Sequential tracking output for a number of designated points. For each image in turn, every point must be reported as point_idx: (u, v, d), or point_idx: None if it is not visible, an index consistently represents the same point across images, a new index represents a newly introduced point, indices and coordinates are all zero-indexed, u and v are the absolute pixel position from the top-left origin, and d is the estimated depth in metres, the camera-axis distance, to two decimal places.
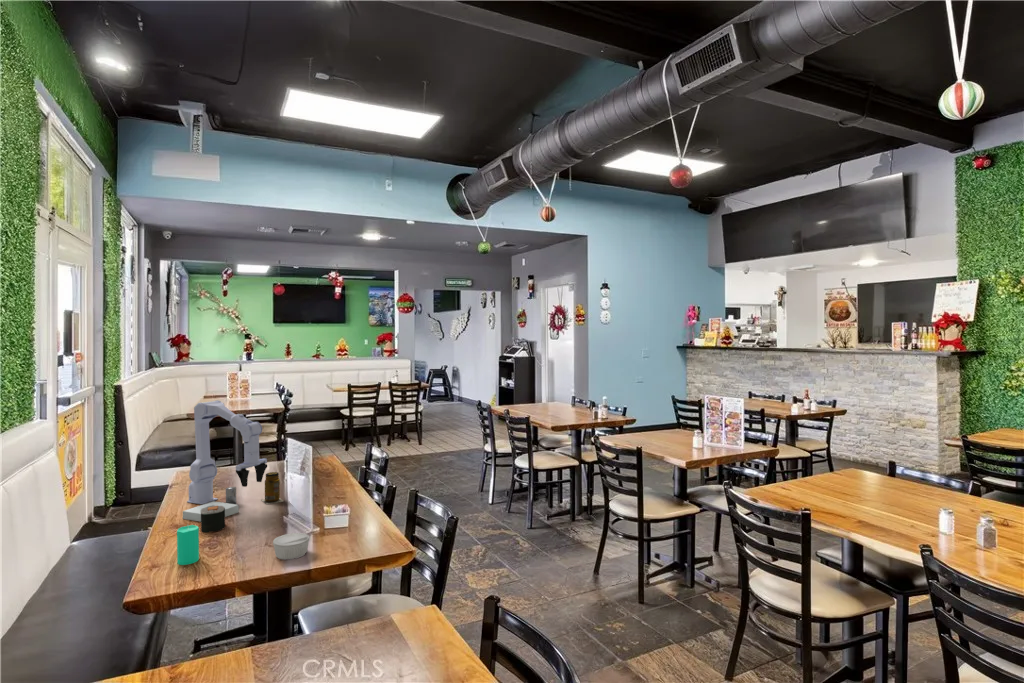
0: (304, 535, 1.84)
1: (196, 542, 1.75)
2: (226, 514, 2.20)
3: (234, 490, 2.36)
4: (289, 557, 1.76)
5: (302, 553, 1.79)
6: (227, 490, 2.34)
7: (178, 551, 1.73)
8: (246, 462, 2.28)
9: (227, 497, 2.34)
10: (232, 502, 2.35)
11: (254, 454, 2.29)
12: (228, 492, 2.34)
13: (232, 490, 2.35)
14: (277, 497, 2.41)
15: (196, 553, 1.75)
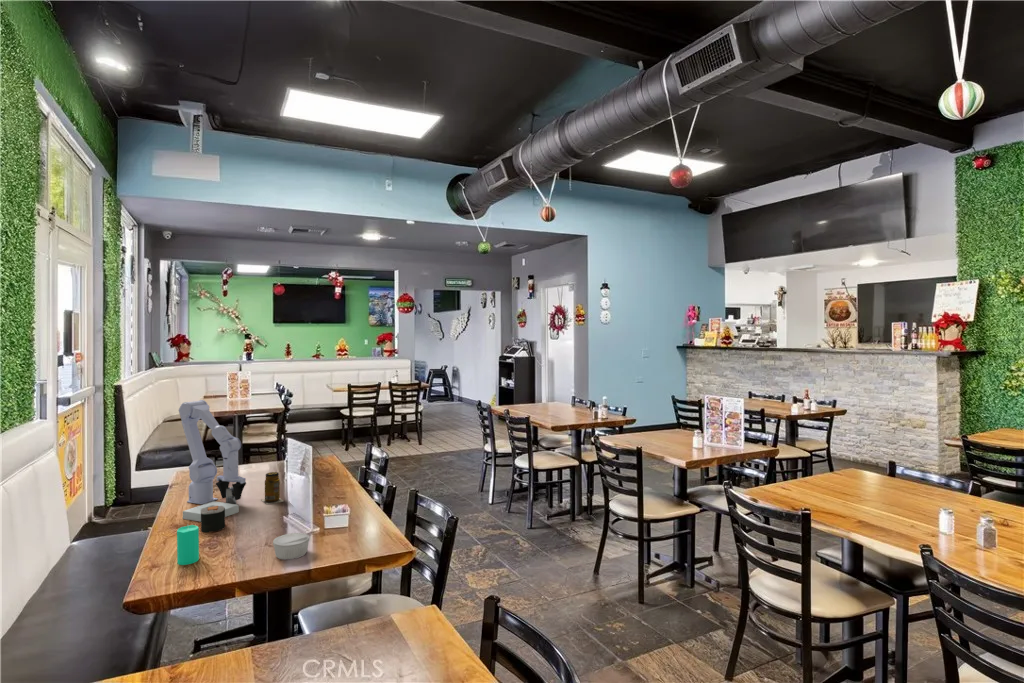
0: (304, 535, 1.84)
1: (196, 542, 1.75)
2: (226, 514, 2.20)
3: None
4: (289, 557, 1.76)
5: (302, 553, 1.79)
6: (227, 490, 2.34)
7: (178, 551, 1.73)
8: None
9: (227, 497, 2.34)
10: (232, 502, 2.35)
11: (223, 470, 2.34)
12: (228, 492, 2.34)
13: (232, 490, 2.35)
14: (277, 497, 2.41)
15: (196, 553, 1.75)
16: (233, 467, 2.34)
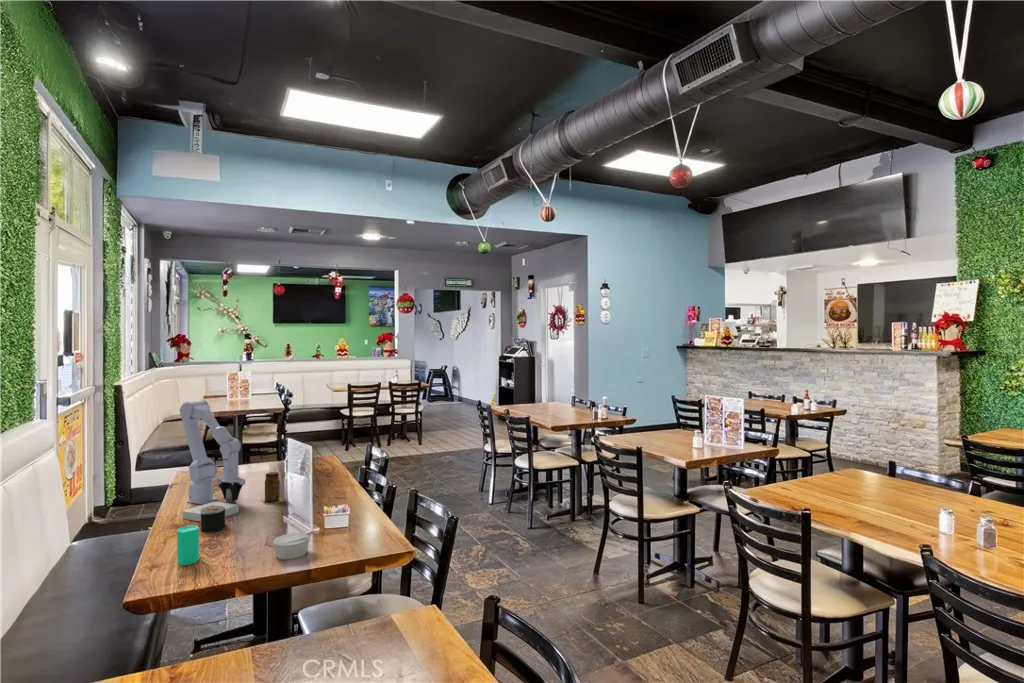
0: (304, 535, 1.84)
1: (196, 542, 1.75)
2: (226, 514, 2.20)
3: None
4: (289, 557, 1.76)
5: (302, 553, 1.79)
6: (227, 490, 2.34)
7: (178, 551, 1.73)
8: None
9: (227, 497, 2.34)
10: (232, 502, 2.35)
11: (223, 471, 2.34)
12: (228, 492, 2.34)
13: None
14: (277, 497, 2.41)
15: (196, 553, 1.75)
16: (233, 468, 2.34)
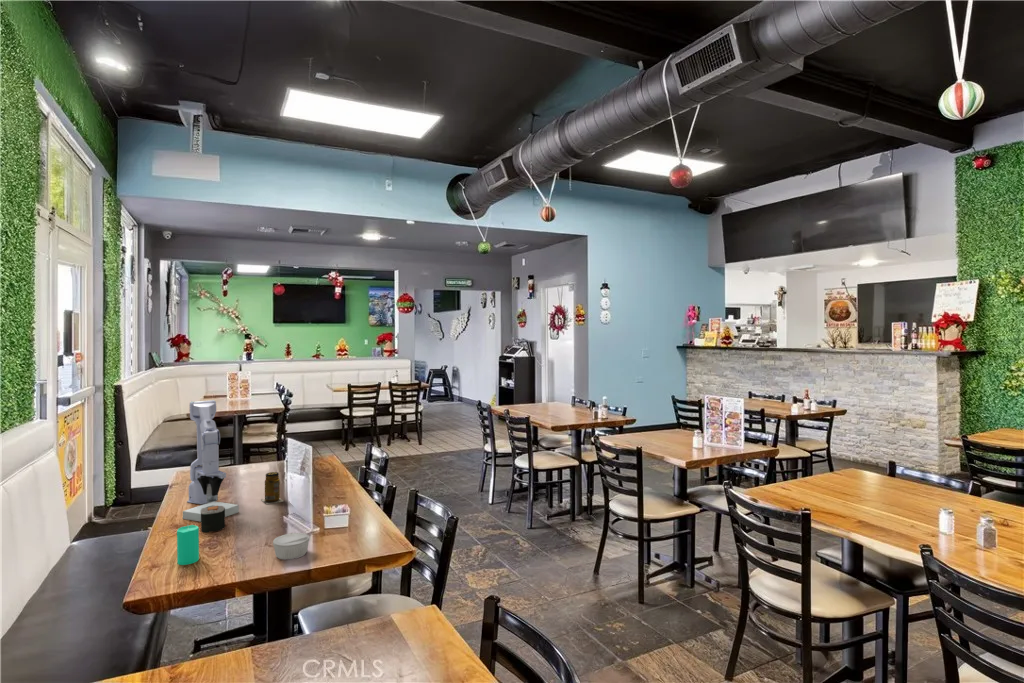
0: (304, 535, 1.84)
1: (196, 542, 1.75)
2: (226, 514, 2.20)
3: None
4: (289, 557, 1.76)
5: (302, 553, 1.79)
6: (208, 485, 2.20)
7: (178, 551, 1.73)
8: None
9: (208, 493, 2.20)
10: (213, 498, 2.21)
11: (202, 464, 2.19)
12: (210, 488, 2.20)
13: None
14: (277, 497, 2.41)
15: (196, 553, 1.75)
16: (213, 461, 2.19)
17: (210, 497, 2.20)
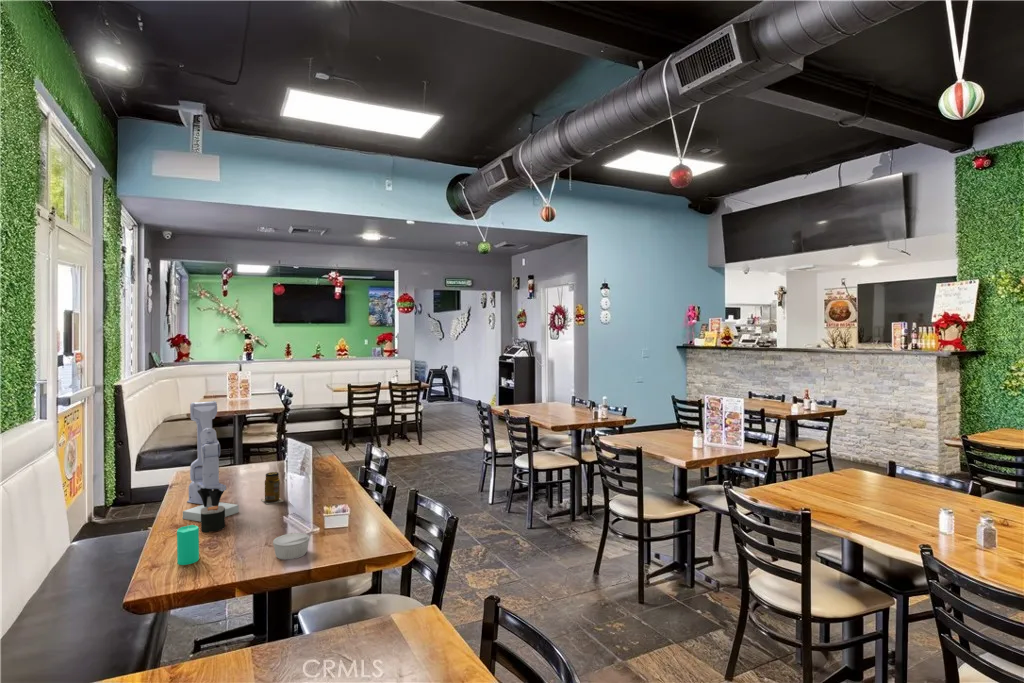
0: (304, 535, 1.84)
1: (196, 542, 1.75)
2: (226, 514, 2.20)
3: None
4: (289, 557, 1.76)
5: (302, 553, 1.79)
6: (208, 498, 2.20)
7: (178, 551, 1.73)
8: None
9: (208, 506, 2.20)
10: None
11: (203, 476, 2.19)
12: (210, 500, 2.20)
13: None
14: (277, 497, 2.41)
15: (196, 553, 1.75)
16: (213, 473, 2.19)
17: None
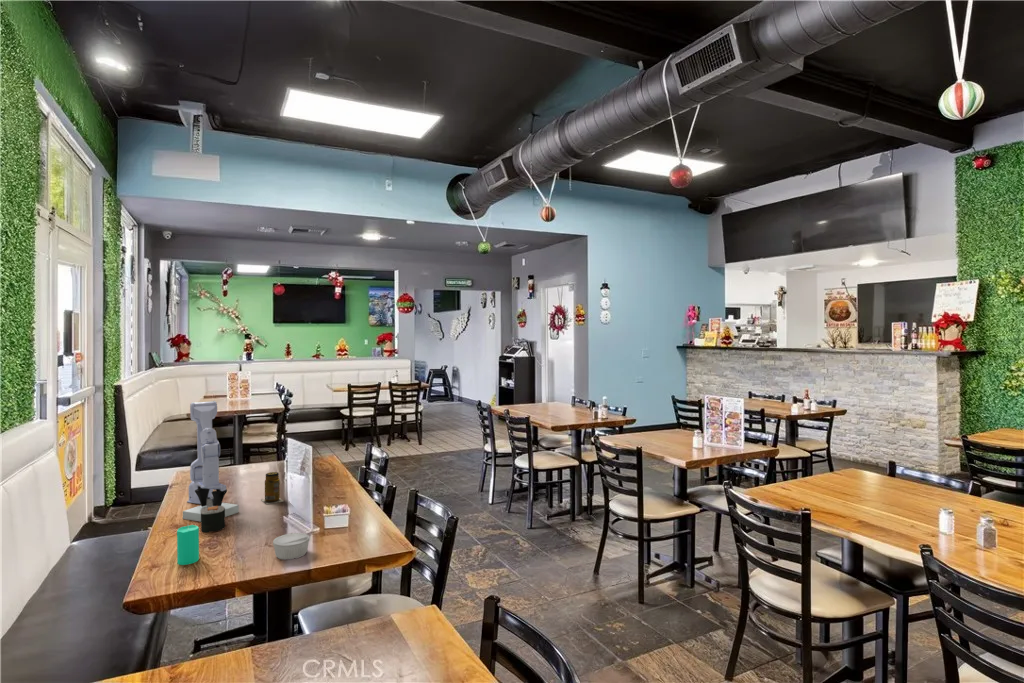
0: (304, 535, 1.84)
1: (196, 542, 1.75)
2: (226, 514, 2.20)
3: None
4: (289, 557, 1.76)
5: (302, 553, 1.79)
6: (208, 500, 2.20)
7: (178, 551, 1.73)
8: None
9: None
10: None
11: (203, 476, 2.19)
12: (209, 503, 2.20)
13: None
14: (277, 497, 2.41)
15: (196, 553, 1.75)
16: (213, 473, 2.19)
17: None
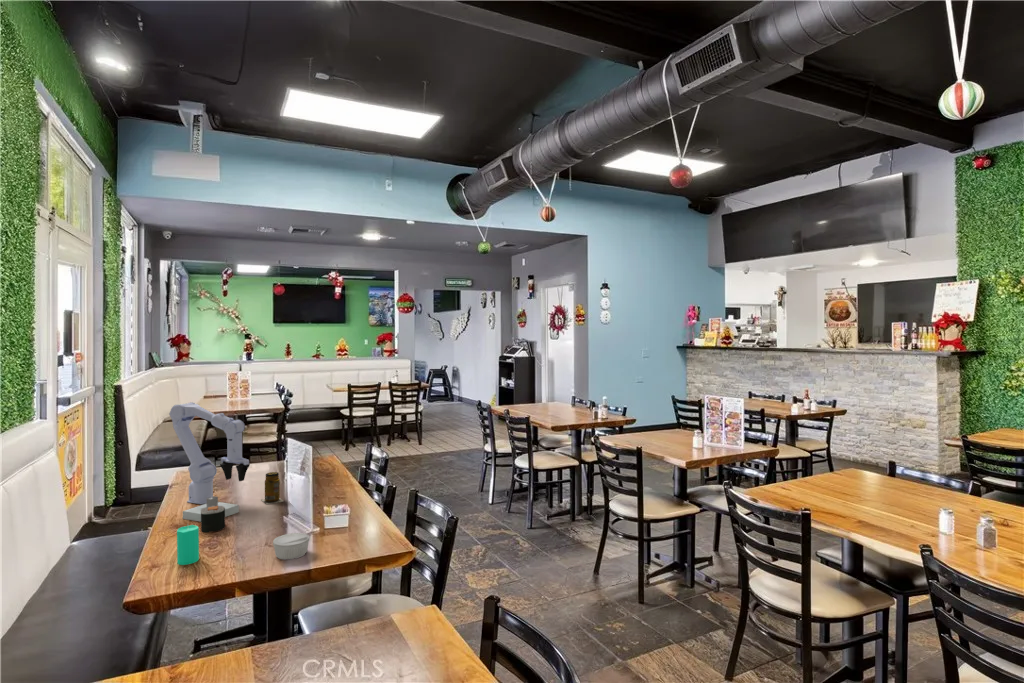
0: (304, 535, 1.84)
1: (196, 542, 1.75)
2: (226, 514, 2.20)
3: (216, 500, 2.21)
4: (289, 557, 1.76)
5: (302, 553, 1.79)
6: (208, 500, 2.20)
7: (178, 551, 1.73)
8: None
9: None
10: None
11: (227, 451, 2.36)
12: (209, 503, 2.20)
13: (214, 500, 2.20)
14: (277, 497, 2.41)
15: (196, 553, 1.75)
16: (237, 449, 2.36)
17: None
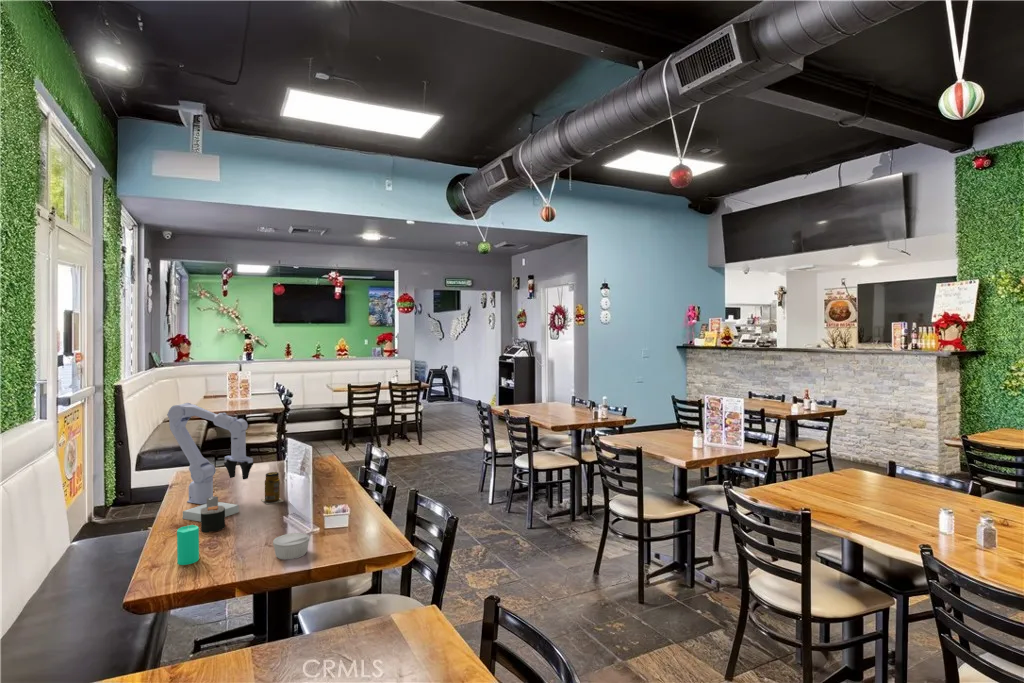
0: (304, 535, 1.84)
1: (196, 542, 1.75)
2: (226, 514, 2.20)
3: (216, 500, 2.21)
4: (289, 557, 1.76)
5: (302, 553, 1.79)
6: (208, 500, 2.20)
7: (178, 551, 1.73)
8: None
9: None
10: None
11: (231, 450, 2.39)
12: (209, 502, 2.20)
13: (214, 500, 2.21)
14: (277, 497, 2.41)
15: (196, 553, 1.75)
16: (241, 447, 2.39)
17: None
